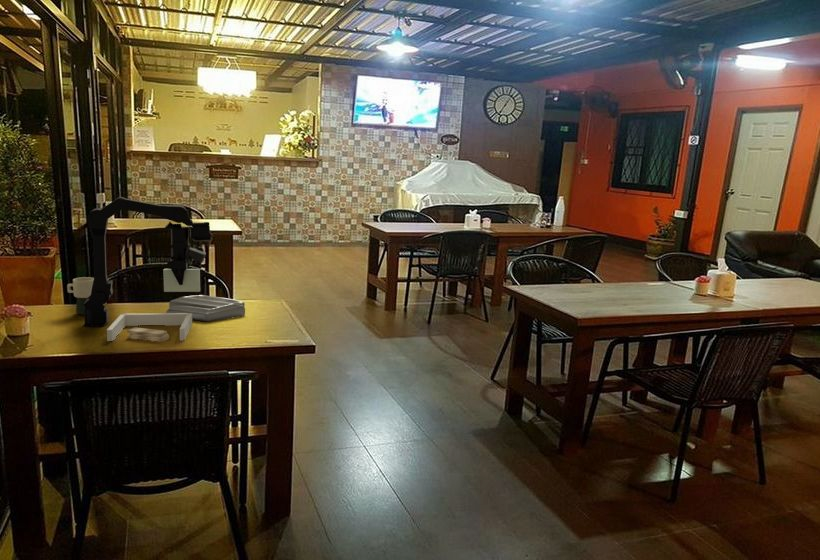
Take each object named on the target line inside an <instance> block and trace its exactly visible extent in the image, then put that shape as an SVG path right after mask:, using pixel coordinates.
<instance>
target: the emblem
mask: <svg viewBox="0 0 820 560" xmlns="http://www.w3.org/2000/svg"><path fill="white" fill-rule="evenodd" d="M166 313H192V321H193V320H194V321H199V322H214V320H215V321H220V320H221V319H222V320H228V319H227V318H229V319H233V318H232V317H234V318H238V317H237V316H240V317H243V316H242V315H245V316H246V307H245V302H244V301H241V300H237V299H233V298H227V297H220V296H213V295H204V294H199V295H188V296H185V295H184V296H180V297H178V298H175V299H172V300H170V301H169V303H168V309H167V310H166ZM222 320H221V321H222Z"/></svg>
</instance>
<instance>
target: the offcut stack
mask: <svg viewBox="0 0 820 560" xmlns="http://www.w3.org/2000/svg"><path fill="white" fill-rule="evenodd" d="M127 334H129V335H128V336H127V339H129V338H131V340H137V339H143V340H142V341H146V340H151V341H150V342H154V341H158V342H157V343H163V342H165V341H168V340H169V338H170V337H169V333H168V331H167V330H163V329H152V328H145V327H144V328H143V327H135V326H133V327H132V328H130V329H128V330H127Z"/></svg>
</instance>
